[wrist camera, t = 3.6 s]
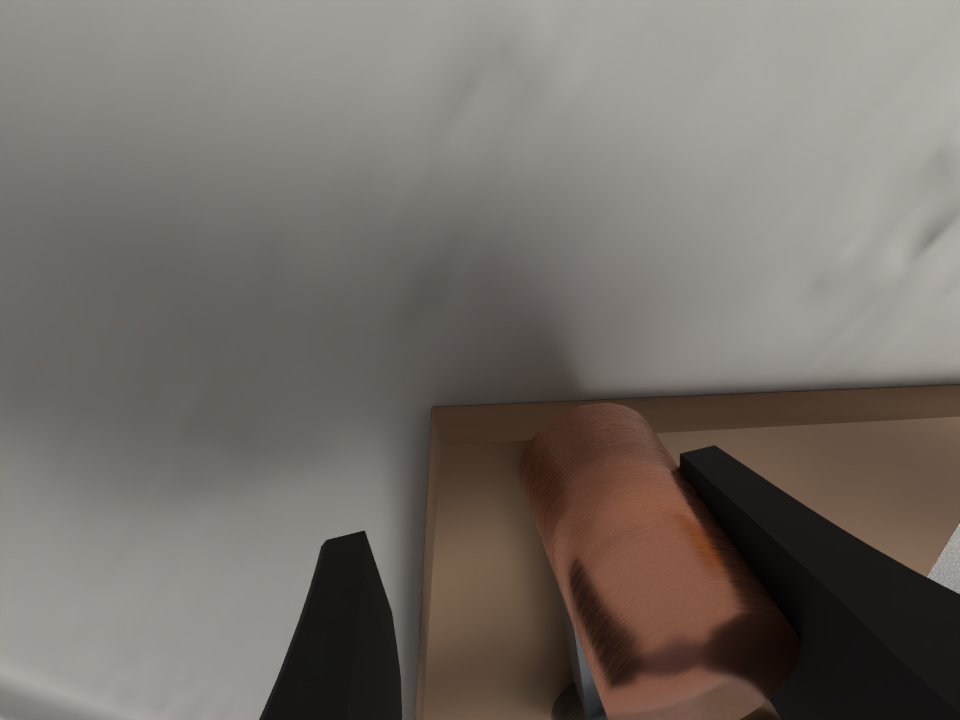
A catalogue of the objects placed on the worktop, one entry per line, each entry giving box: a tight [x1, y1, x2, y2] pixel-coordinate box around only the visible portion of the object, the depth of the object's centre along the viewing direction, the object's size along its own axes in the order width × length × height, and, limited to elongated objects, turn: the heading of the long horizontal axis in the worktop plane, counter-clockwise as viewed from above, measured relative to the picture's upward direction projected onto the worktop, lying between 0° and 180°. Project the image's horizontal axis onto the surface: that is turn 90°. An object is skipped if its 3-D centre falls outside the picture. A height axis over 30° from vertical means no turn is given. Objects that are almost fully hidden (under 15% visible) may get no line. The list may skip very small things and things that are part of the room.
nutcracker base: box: [415, 385, 960, 720], centre depth 16 cm, size 15×13×3 cm
